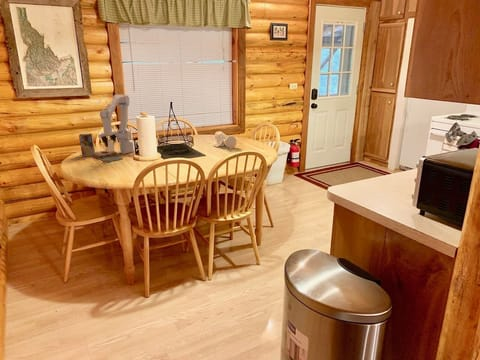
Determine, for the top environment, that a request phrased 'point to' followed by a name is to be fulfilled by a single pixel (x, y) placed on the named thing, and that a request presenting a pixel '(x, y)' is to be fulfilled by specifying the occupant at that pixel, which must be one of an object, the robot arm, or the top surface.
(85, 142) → the coffee box
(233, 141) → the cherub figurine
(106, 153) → the walnut square frame
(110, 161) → the slate mat
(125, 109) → the robot arm
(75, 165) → the top surface
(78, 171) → the top surface
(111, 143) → the cream block
